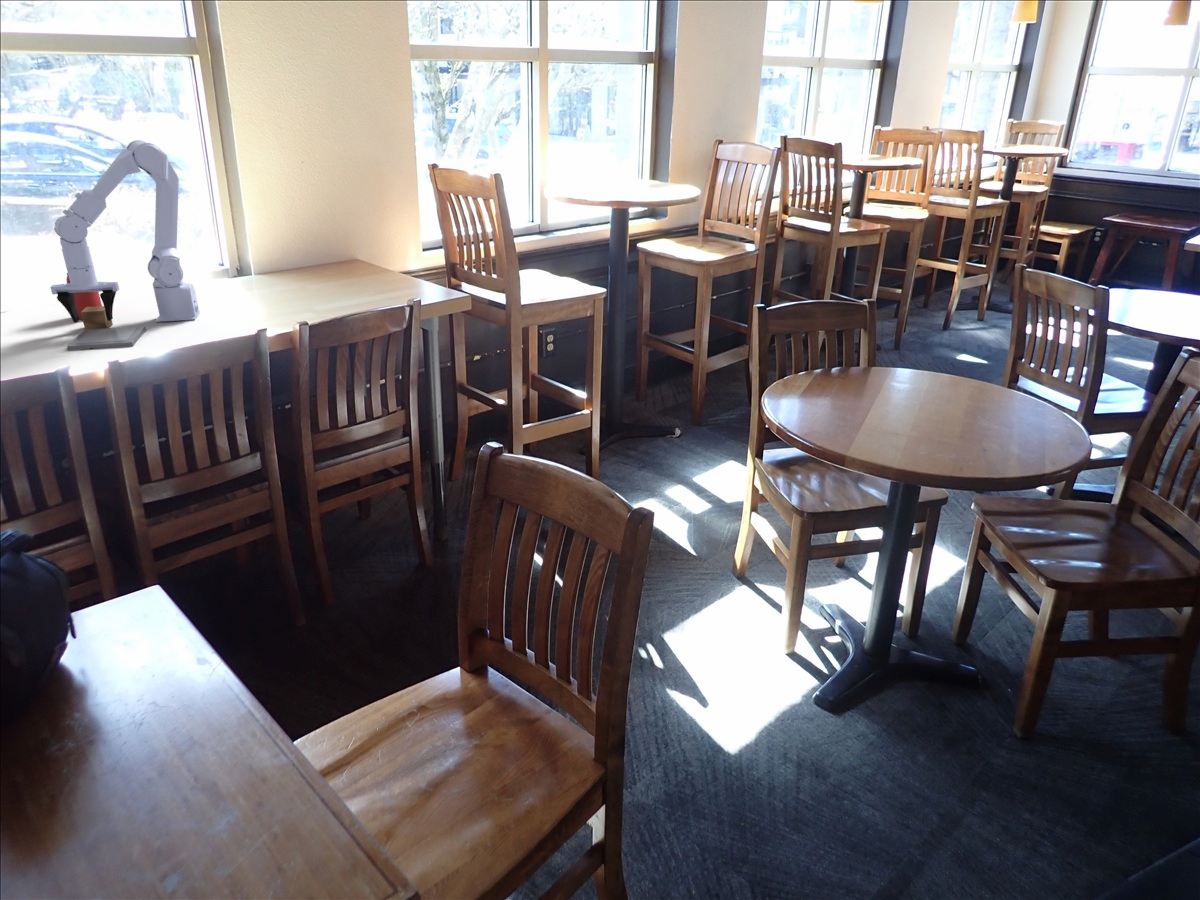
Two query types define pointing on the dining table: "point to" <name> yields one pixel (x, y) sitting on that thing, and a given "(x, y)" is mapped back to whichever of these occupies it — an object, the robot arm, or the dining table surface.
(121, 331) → the coaster
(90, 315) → the walnut block
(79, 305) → the beer can
